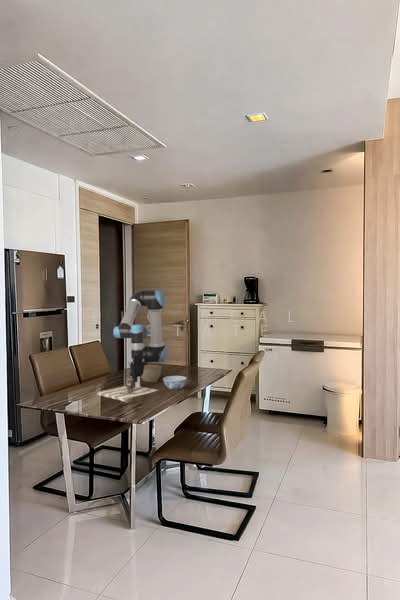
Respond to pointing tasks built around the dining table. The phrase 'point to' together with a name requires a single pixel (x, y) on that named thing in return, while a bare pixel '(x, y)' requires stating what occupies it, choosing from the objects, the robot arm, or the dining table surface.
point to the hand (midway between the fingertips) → (137, 386)
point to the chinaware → (174, 382)
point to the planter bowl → (151, 373)
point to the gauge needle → (129, 383)
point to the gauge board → (125, 392)
